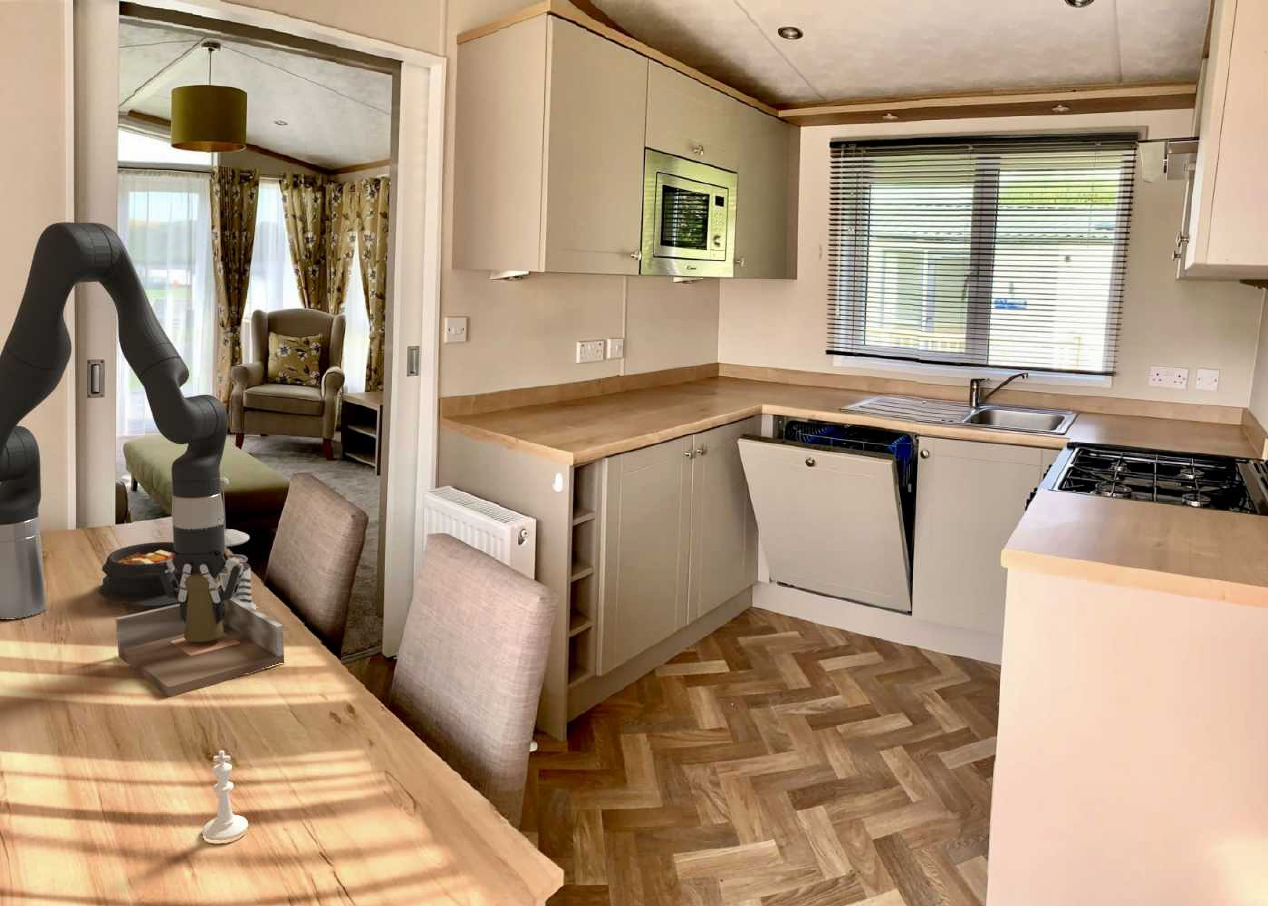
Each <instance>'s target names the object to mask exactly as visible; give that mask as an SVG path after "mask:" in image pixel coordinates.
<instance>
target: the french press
mask: <svg viewBox="0 0 1268 906" xmlns="http://www.w3.org/2000/svg"><path fill="white" fill-rule="evenodd" d="M229 482H230V481H229V479H228V478H227V477H220V485H221V486H222V487H221V488H222V502H223V512H224V535H225V553H226V555H227V557H228V560H231V561H234V562H237V563H239V562H244V563H245V568H244V571H243V574H242V577H241V580H240V584H239V587H238V590H237V593H236V594H235V595H233V597H234V598H236V599H238V600H240V601H241V602H243V603H245V604H247V605H248V606H250V607H252V608H253V609H255V610H256V608H258V606H257V605H256V604H255V603H254V602H253V601H252V598H253V597H252V596H253V595H252V587H251V586H252V580H251V579H252V574H251V573H252V572H251V566H250V564H249V563H247V562H248V561H249V558H248V557H247V556H246V555H244V554H230V553H229V554H228V549H227V547H234V546H239V545H243V544H244V543H247V542H248V541H249V540H250V535H249V534H247V533H246V532H243V531H239V530H237V529H232V528H231V529H229V528H226V527H227V526H226V525H227V523H226V509H225V508H226V506H225V505H226V504H225V486H226V485H229ZM221 576H222V579H223V586H224V589H225V590H226V587H227V584H228V580H229V577H230V575H229V574H228V573H227V568H226V567H225V568H224V569H223V570H222V572H221ZM256 606H257V607H256Z"/></svg>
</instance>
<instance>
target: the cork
mask: <svg viewBox="0 0 1268 906" xmlns="http://www.w3.org/2000/svg"><path fill="white" fill-rule="evenodd" d="M207 578H208V577H207ZM207 578H206V577H204V576H203V575H202V573H192V574H191V575H190V576H188V577H186V580H185V582H184V583H185V587H186V590H187V591H188V600H187V612H186V623H185V633H184V638H185V639H186V640H188V641H192V642H204V641H210V640H215V639H217V638H220V637H221V636H223V634H224V630H223V625H222V620H221V621H218V624H216V621H215V616H214V611H213V607H212V603H214V601H213V599H212V596H211V593H210V590H209V584H210V583H209V581H208V579H207ZM218 581H219V577H217V578H216V579H214V582H215V583H217V582H218Z"/></svg>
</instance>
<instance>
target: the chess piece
mask: <svg viewBox="0 0 1268 906" xmlns="http://www.w3.org/2000/svg"><path fill="white" fill-rule="evenodd" d="M212 758H213V759H212V760H213V762H219V763H218V764H216V765H214V766H213V768H212V772H213V774H214V776H215V779H216V782H217V783H215V784H214V785H213V788H212V790H213V792H214V793H217V794H218V804H217V814H216V815H217V816H216V817H215V818H213V819H211V820H209V821H208V822H207V823H206V824H204V827H203V828H202V834H203V835H204V836H205V837H206V838H207V839H210V840H220V841H221V840H227V839H231V838H234V837H237V836H240V835H241V834H242V833H243V832H244V831H245V830H246V829H247V827H248V826H249V823H248V822H249V821H248V820H247V818H245V817H244V816H241V815H238V814H234V813H233V811H232V809H233V808H232V805H231V799H230V795H229V792H230V791H232V790H233V789H234V783H233V782H232V781H229V779H230V776H231V772H232V770H233V765H232V764H231V763H230V761H231V755H225V750H219V752H218V755H214V756H213V757H212ZM228 762H229V763H228Z"/></svg>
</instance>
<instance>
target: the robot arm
mask: <svg viewBox="0 0 1268 906" xmlns="http://www.w3.org/2000/svg"><path fill="white" fill-rule="evenodd" d="M135 268H136V267H135V266H134V263H133V261H132V259H131V257H130V255H129V253H128V250H127V249H126V246H125V245H124V242H123V241H122V238H120V236H119V235H118V233H117V232H116V231H115V230H114V229H113V228H111V226H109V225H106V224H104V223H99V222H71V221H62V222H55V223H51V224H50V225H48V226H46V228H45V229H44V230H43V231H42V233H41V234H40V236H39V238H38V239H37V242H36V247H35V249H34V253H33V255H32V261H31V265H30V269H29V273H28V278H27V281H26V285H25V288H24V292H23V294H22V299H21V302H20V304H19V308H18V311H17V313H16V316H15V319H14V321H13V324H12V326H11V328H10V331H9V334H8V336H7V338H6V339H5V340H6V341H5V342H4V345H3V348H2V350H1V353H0V619H2V618H3V619H7V618H9V619H10V618H19V619H21V618H20V617H25V618H28V617H27V616H29V617H32V616H36V615H38V614H40V613H42V612H44V611H45V610H46V609H47V607H48V606H47V599H46V598H47V597H46V584H45V573H44V562H43V561H44V560H43V547H42V539H41V528H40V517H39V516H40V514H39V506H40V502H41V499H42V485H41V484H42V482H41V480H42V478H41V453H40V448H39V445H38V442H37V440H36V437H35V436H34V434H33V432H32V431H30V430H29V428H27V427H25V426H21V425H18V424H19V423H20V422H21V421H22V420H23V419H24V418H25V417H26V416H27V415H29V414H30V413H31V412H32V411H33V410H34V409H35V408H37V406H40V404H41V403H43V401H45V399H47V398H49V396H50V395H51V394H52V393H53V392H55V389H57V386H58V385H59V383H60V382H61V381H62V378H63V376H64V373H65V372H66V368H67V365H68V363H69V361H70V359H71V356H72V349H73V348H72V340H71V335H70V332H69V330H68V327H67V324H66V321H65V318H64V317H65V316H64V311H65V308H66V303H67V301H68V298H69V295H70V294H71V292H72V290H73V288H74V286H75V285H77V284H78V283H81V284H82V283H95V282H96V283H99V284H100V285H101V286H102V287H103V288H104V290H105V291H106V292H107V293H108V295H109V296H110V297H111V299H112V302H113V303H114V305H115V309H116V313H117V329H118V330H117V332H118V342H119V346H120V350H121V352H122V355H123V357H124V359H125V361H126V363H128V365H129V366H130V369H131V370H132V371H133V372H134V374H135V376H136V377H137V379H138V380H139V382H140V384H141V385H142V387H143V388H144V391H145V395H146V399H147V402H148V406H149V408H150V411H151V415H152V418H153V421H154V424H155V426H156V428H157V430H158V431H159V433H160V434H161V435H162V436H163V437H164V438H165V439H167V440H168V441H169V442H171V443H173V444H176V445H187V447H186V451H185V452H184V453H183V454H181V455H180V456H179V457H177V458H176V459H175V460H174V461H173V462H172V464H171V471H170V472H171V486H172V487H171V488H172V490H171V491H172V503H171V518H172V521H171V522H172V537H173V542H174V550H175V554H174V556H173V558H172V559H170V560H167V559H164V560H162V561H161V562H160V563H158V564H157V565H156V566H155V568H156V570H157V573H158V575H159V578H160V580H161V582H162V585H163V587H164V590H165V592H166V595H167V596H168V597H169V598H172V597H173V598H176V599H178V600H179V602H180V617H181V619H182V620H184V623H186V612H187V600H188V591H187V590H186V587H185V583H184V582H185V580H186V577H188V576H190V575H191V574H192V573H202V575H203V576H204V577H206V578H207V577H208V578H207V579H208V581H209V583H210V584H209V590H210V593H211V596H212V599H213V601H214V603H212V607H213V611H214V616H215V621H216V624H218V621H221V620H222V619H223V618H224V617H225V600H226V599H227V600H229V599H231V598H232V596H235V594H236V593H237V590H238V587H239V584H240V580H241V577H242V574H243V571H244V568H245V563H244V562H239V563H237V562H234V561H231V560H228V557H227V555H226V548H225V535H224V529H225V528H224V508H223V496H222V491H221V490H222V489H221V488H222V487H221V486H222V485H220V478H221V470H220V466H221V461H222V459H223V454H224V450H225V445H226V440H227V436H228V429H229V418H228V413H227V409H226V408H225V406H224V404H223V403H222V401H221V400H220V399H218V397H216V396H214V395H211V394H199V395H193V396H187V397H185V395H184V394H183V392H182V390H181V387H182V386H184V385H185V384H186V383H187V381H188V380H189V377H190V370H189V368H188V366H187V365H186V363H185V361H184V359H183V358H182V357H181V355H180V353H179V352H178V351H177V348H175V346H174V344H173V343H172V341H171V340H170V338H169V336H168V335H167V334H166V332H165V330H164V328H163V327H162V326H161V323H160V321H159V320H158V318H157V315H156V314H155V312H154V310H153V307H152V305H151V303H150V301H149V298H148V295H147V294H146V291H145V288H144V287H143V284H142V282H141V279H140V277H139V275H138V273H137V271H136V269H135ZM174 566H175V567H176V568H177V570H178V571H179V572H180V573H181V575H182V579H181V583H180V586H179V584H178V582H177V579H176V577H175V574H174V572H173V571H174V569H175V568H174ZM225 567H226V568H227V573H228V574H227V575H230V577H229V580H228V584H227V587H226V590H225V589H224V586H223V579H222V576H221V575H222V573H221V572H222V570H223V569H224V568H225ZM217 577H219V581H218V582H217V583H215V582H214V579H216V578H217ZM31 615H32V616H31Z"/></svg>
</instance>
